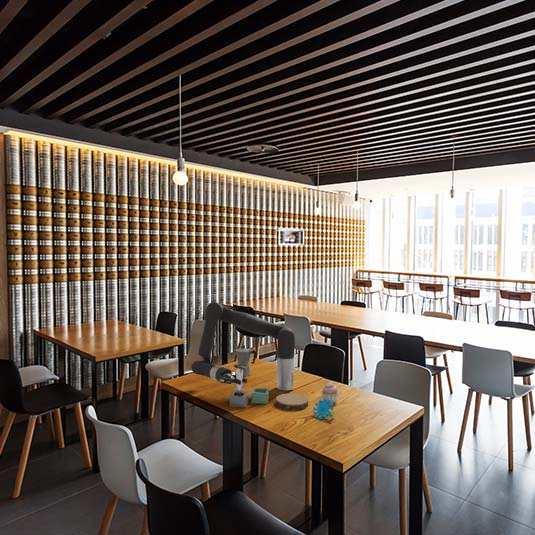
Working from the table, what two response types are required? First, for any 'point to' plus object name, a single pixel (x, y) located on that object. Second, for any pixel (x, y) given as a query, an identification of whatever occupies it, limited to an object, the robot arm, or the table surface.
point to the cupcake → (330, 392)
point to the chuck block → (238, 400)
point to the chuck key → (239, 376)
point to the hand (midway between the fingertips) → (243, 381)
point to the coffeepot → (245, 358)
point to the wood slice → (292, 401)
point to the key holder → (260, 395)
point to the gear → (323, 409)
